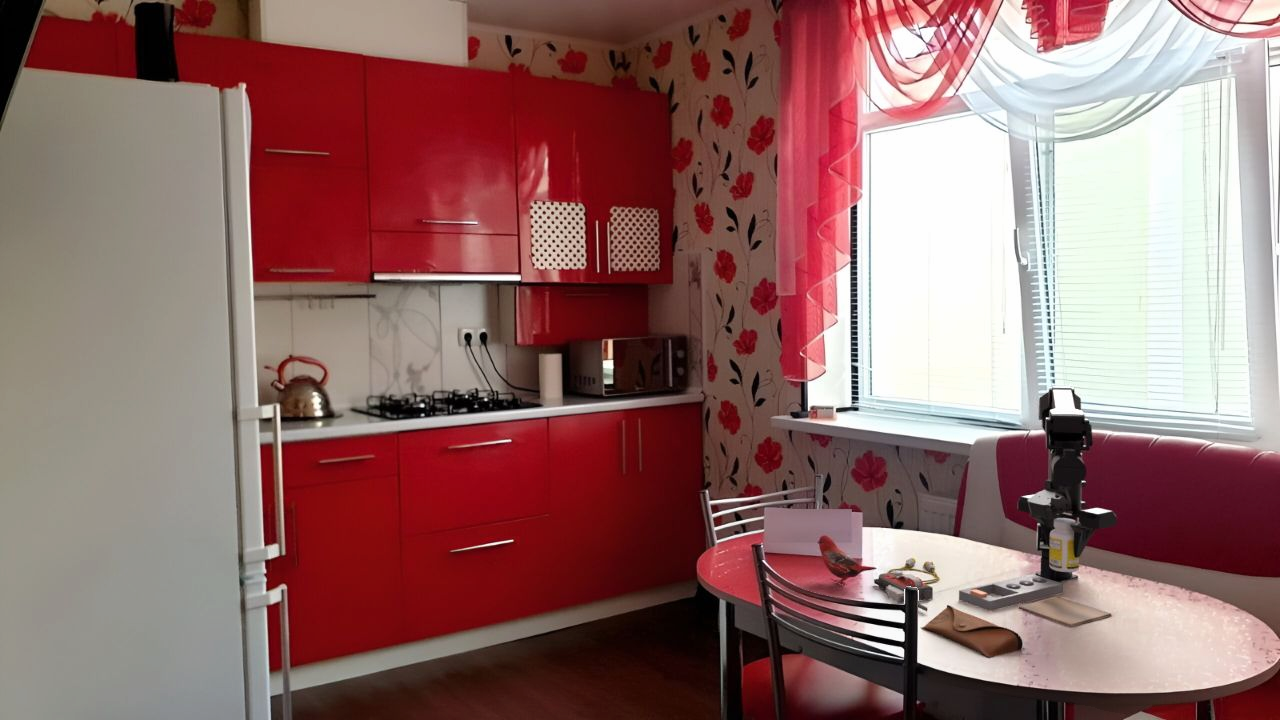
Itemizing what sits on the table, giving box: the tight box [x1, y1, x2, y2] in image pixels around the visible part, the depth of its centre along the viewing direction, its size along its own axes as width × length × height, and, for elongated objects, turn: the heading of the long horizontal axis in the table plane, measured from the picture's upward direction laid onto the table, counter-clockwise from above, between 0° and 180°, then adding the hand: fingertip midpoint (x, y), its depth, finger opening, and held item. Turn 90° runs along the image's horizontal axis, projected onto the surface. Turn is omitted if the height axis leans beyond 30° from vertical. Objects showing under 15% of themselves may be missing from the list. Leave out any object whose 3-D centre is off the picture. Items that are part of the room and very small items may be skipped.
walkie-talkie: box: [873, 571, 934, 612], centre depth 201 cm, size 9×4×20 cm
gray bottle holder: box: [958, 573, 1064, 612], centre depth 200 cm, size 22×8×3 cm, turn 118°
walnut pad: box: [1018, 596, 1112, 628], centre depth 190 cm, size 12×12×1 cm
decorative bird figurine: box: [817, 534, 878, 586], centre depth 208 cm, size 3×18×10 cm, turn 33°
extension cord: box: [886, 557, 940, 585], centre depth 216 cm, size 12×16×2 cm
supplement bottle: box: [1049, 518, 1080, 573], centre depth 189 cm, size 5×5×10 cm
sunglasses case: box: [920, 604, 1024, 658], centre depth 177 cm, size 18×7×7 cm, turn 28°
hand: (1064, 553), depth 189 cm, fingers closed on supplement bottle, 5 cm apart
